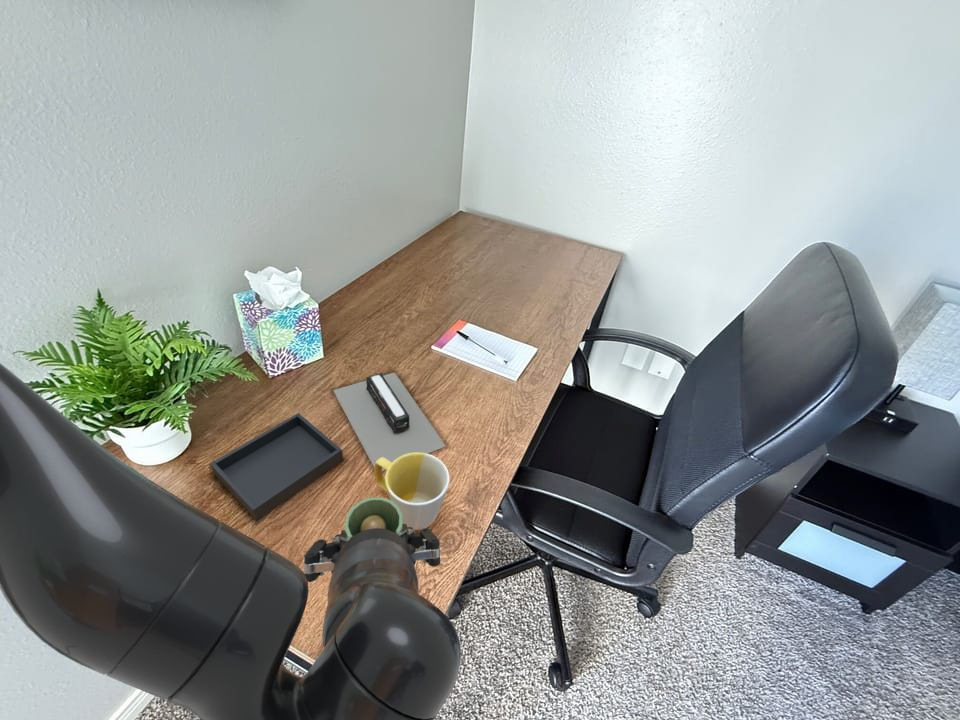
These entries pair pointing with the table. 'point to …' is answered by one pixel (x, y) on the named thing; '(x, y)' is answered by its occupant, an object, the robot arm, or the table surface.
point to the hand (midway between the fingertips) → (374, 535)
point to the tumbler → (373, 507)
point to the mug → (414, 486)
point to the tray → (276, 464)
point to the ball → (372, 523)
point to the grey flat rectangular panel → (387, 418)
